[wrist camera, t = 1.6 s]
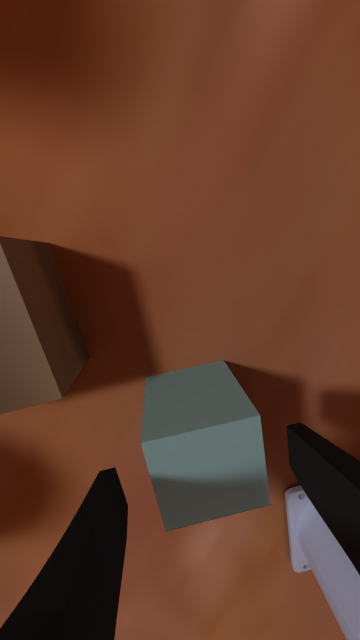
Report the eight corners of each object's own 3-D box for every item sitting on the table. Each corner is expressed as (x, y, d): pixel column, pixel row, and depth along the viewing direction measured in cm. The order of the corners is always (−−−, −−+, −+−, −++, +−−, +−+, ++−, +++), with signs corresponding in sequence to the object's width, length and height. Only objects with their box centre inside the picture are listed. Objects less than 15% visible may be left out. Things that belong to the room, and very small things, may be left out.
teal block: (223, 359, 14) (260, 415, 9) (233, 424, 15) (270, 504, 10) (145, 376, 13) (140, 443, 9) (162, 441, 15) (165, 531, 10)
